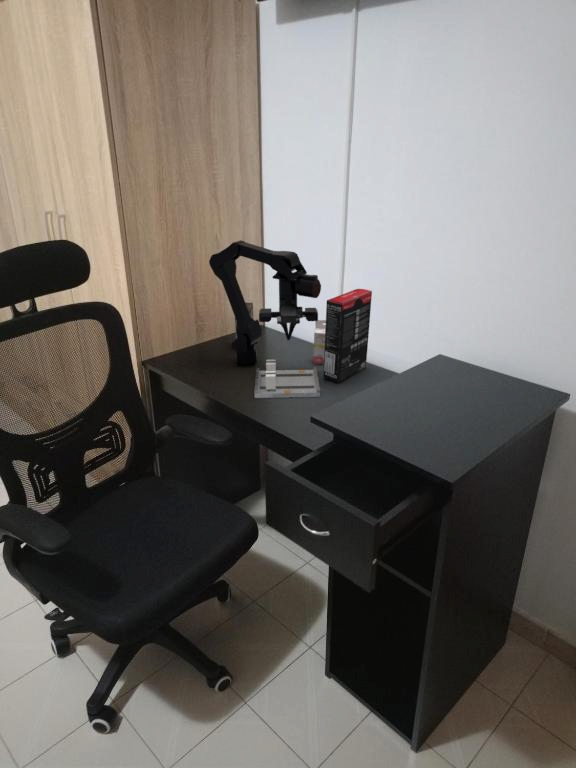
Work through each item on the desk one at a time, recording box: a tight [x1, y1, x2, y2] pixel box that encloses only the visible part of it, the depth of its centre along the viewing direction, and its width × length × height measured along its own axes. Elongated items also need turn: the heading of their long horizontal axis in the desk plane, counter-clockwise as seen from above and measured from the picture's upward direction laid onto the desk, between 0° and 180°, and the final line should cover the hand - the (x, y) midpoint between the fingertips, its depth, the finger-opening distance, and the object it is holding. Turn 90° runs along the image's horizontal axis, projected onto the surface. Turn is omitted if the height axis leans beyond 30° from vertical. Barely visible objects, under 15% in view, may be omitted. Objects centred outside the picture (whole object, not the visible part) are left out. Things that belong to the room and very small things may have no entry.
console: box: [253, 366, 321, 399], centre depth 175 cm, size 20×17×2 cm
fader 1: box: [265, 359, 277, 372], centre depth 177 cm, size 3×4×5 cm
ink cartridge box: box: [313, 319, 326, 365], centre depth 189 cm, size 9×5×15 cm, turn 84°
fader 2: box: [265, 370, 276, 390], centre depth 169 cm, size 3×4×5 cm
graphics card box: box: [322, 288, 373, 384], centre depth 177 cm, size 17×7×27 cm, turn 141°
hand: (288, 339), depth 178 cm, fingers closed
